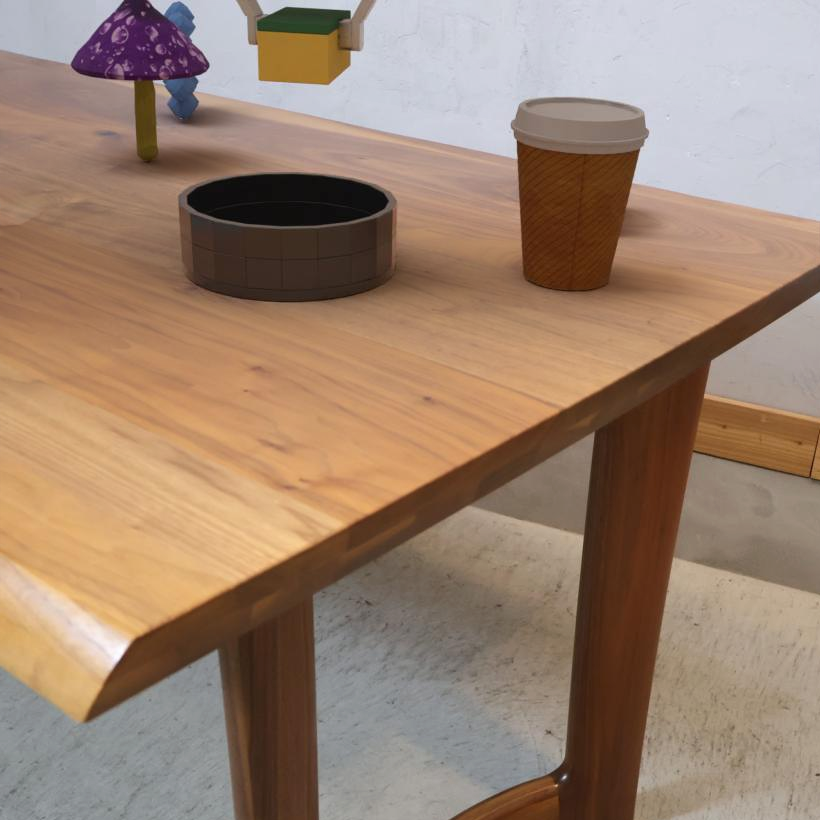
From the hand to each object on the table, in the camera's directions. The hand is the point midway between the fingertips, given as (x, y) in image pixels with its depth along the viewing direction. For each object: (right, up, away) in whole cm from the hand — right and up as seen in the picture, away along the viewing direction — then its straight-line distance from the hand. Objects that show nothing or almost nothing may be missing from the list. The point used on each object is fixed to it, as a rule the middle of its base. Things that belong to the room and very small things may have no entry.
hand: (305, 47), depth 75 cm
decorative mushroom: (-19, +1, +35) cm, 40 cm away
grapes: (-21, +11, +54) cm, 59 cm away
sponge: (0, -1, +1) cm, 2 cm away
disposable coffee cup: (+18, -14, +9) cm, 24 cm away
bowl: (-2, -13, +8) cm, 16 cm away
